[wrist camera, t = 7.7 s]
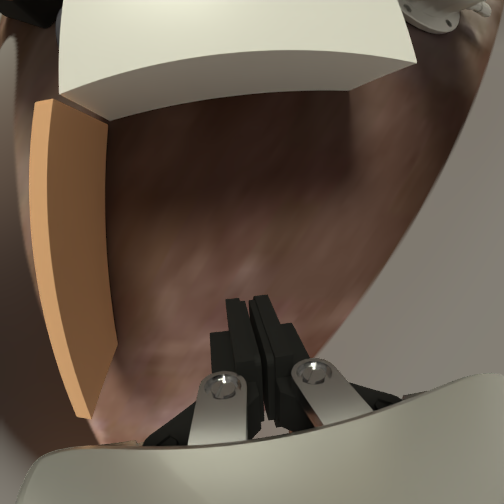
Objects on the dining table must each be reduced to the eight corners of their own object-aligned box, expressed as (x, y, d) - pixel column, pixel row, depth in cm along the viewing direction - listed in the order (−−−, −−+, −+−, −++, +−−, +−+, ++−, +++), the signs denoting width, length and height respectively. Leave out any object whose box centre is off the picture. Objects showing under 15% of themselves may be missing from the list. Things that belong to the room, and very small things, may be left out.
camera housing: (320, -18, 15) (370, -75, 7) (349, 90, 17) (427, 59, 10) (92, 5, 12) (52, -56, 5) (95, 125, 15) (29, 99, 7)
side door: (88, 126, 15) (25, 104, 8) (108, 124, 15) (53, 98, 8) (100, 343, 19) (69, 415, 12) (118, 344, 19) (91, 419, 12)
